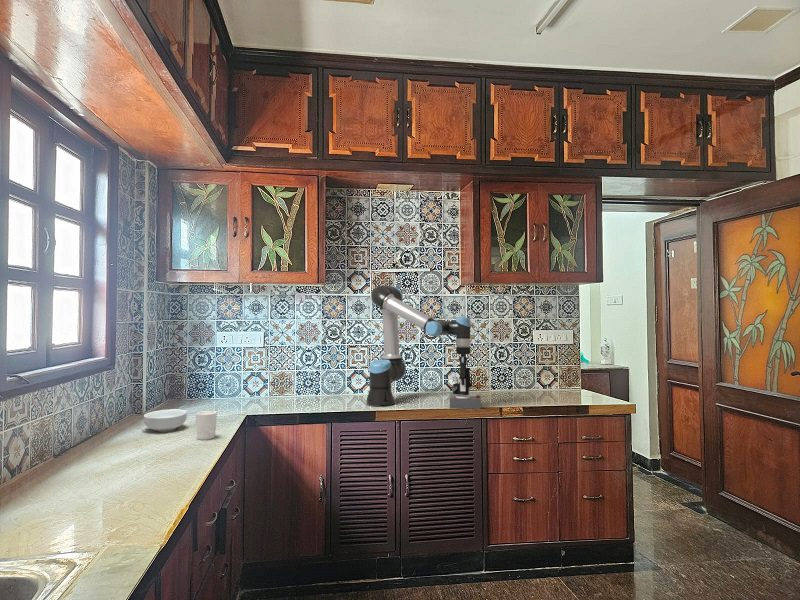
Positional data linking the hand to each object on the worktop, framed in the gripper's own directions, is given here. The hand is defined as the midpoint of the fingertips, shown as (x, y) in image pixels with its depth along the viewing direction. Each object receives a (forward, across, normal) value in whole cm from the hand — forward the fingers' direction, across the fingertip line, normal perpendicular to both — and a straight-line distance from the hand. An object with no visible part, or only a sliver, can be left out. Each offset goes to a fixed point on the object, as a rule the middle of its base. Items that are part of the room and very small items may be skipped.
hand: (463, 389), depth 260 cm
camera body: (+9, 0, -1) cm, 9 cm away
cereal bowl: (+9, -72, +123) cm, 143 cm away
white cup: (+9, -81, +98) cm, 127 cm away
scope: (+3, 0, 0) cm, 3 cm away
